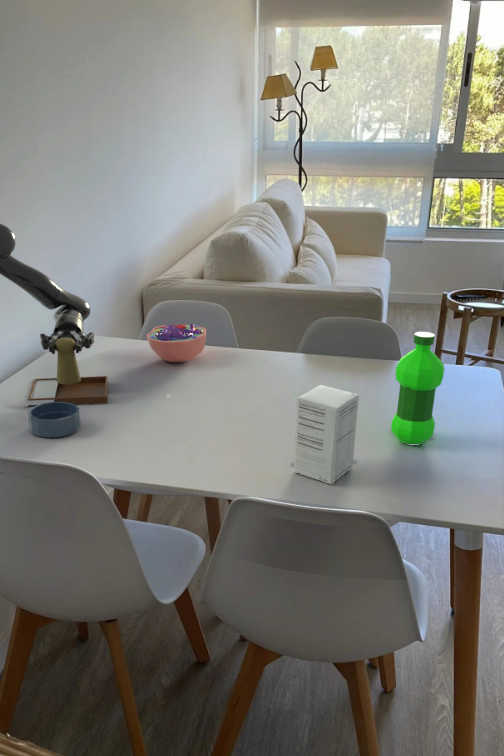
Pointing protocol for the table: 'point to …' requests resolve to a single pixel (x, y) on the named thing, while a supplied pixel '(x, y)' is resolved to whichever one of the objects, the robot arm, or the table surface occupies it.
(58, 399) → the tray
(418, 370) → the plastic bottle
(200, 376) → the table surface
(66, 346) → the cork
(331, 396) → the supplement box
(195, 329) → the cell model
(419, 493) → the table surface
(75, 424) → the bowl
